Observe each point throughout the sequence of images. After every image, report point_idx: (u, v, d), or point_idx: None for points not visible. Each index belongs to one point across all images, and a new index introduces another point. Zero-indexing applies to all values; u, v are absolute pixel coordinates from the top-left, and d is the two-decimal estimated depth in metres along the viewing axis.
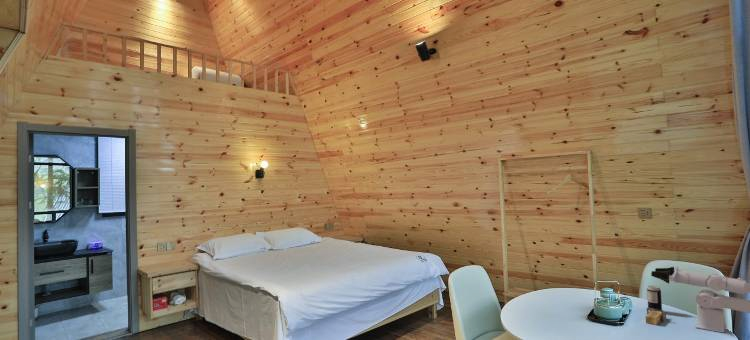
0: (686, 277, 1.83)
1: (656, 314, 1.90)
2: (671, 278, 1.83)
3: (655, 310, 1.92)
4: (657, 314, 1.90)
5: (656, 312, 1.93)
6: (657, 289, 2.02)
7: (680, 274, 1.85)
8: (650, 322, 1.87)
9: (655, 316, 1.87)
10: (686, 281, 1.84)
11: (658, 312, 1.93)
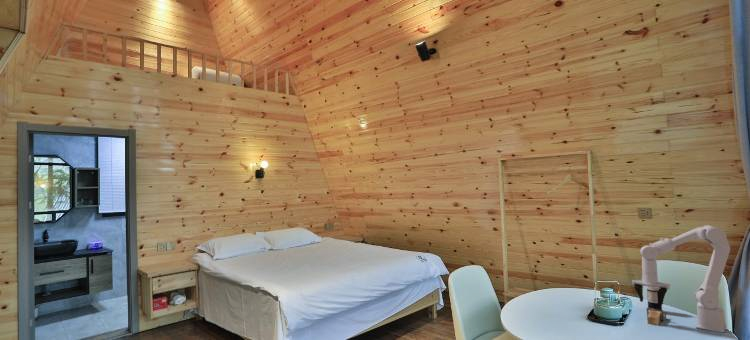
0: (656, 275, 1.87)
1: (657, 314, 1.90)
2: (669, 287, 1.84)
3: (655, 310, 1.92)
4: (657, 314, 1.90)
5: (655, 312, 1.94)
6: (657, 289, 2.02)
7: (656, 280, 1.86)
8: (652, 322, 1.86)
9: (656, 316, 1.87)
10: None
11: (657, 312, 1.94)
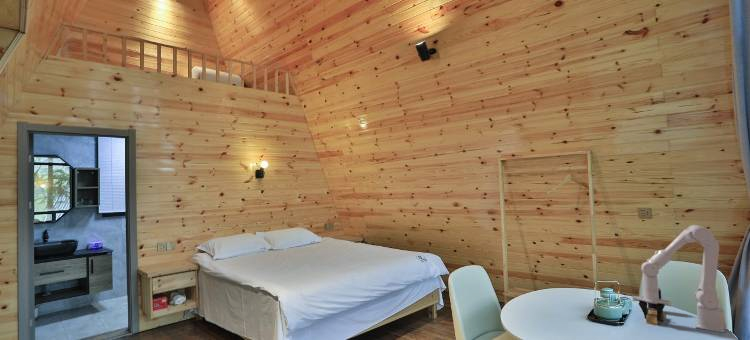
0: (657, 291, 1.86)
1: (656, 314, 1.90)
2: (670, 304, 1.83)
3: (655, 310, 1.92)
4: None
5: (655, 311, 1.94)
6: None
7: (657, 297, 1.86)
8: (651, 322, 1.87)
9: (655, 315, 1.88)
10: None
11: None
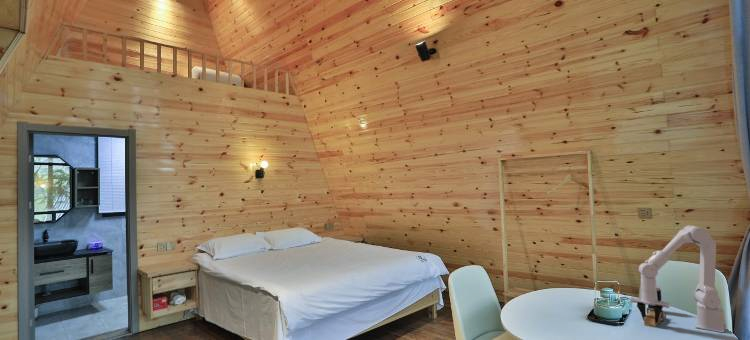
0: (655, 293, 1.84)
1: (654, 315, 1.87)
2: (669, 305, 1.81)
3: None
4: None
5: (654, 313, 1.91)
6: (657, 289, 2.02)
7: (655, 299, 1.84)
8: (648, 323, 1.84)
9: (653, 317, 1.85)
10: None
11: None
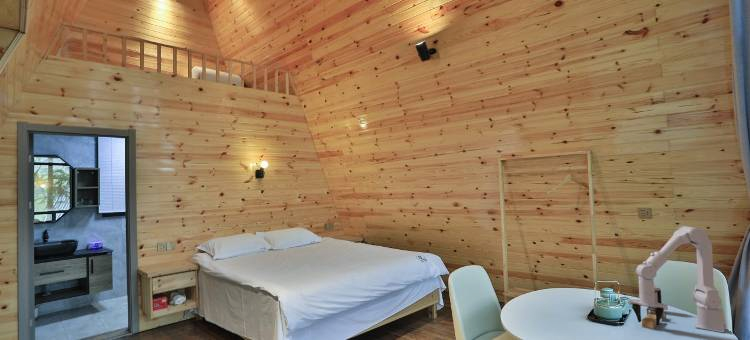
0: (653, 295, 1.82)
1: (653, 318, 1.85)
2: (667, 307, 1.78)
3: None
4: (654, 318, 1.85)
5: (652, 315, 1.89)
6: (657, 289, 2.02)
7: (653, 300, 1.81)
8: (646, 326, 1.82)
9: (651, 320, 1.83)
10: None
11: (655, 315, 1.89)
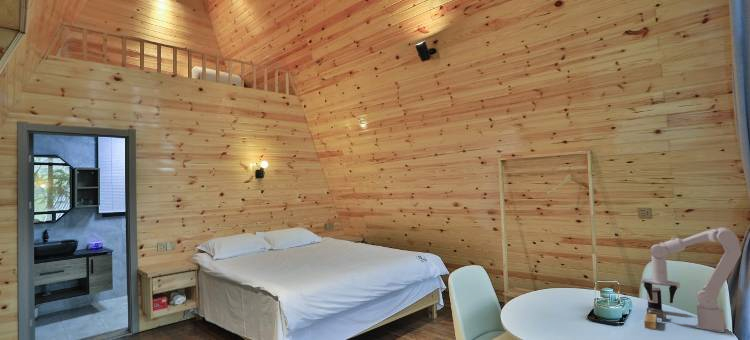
0: (666, 273, 1.88)
1: (653, 318, 1.85)
2: (679, 285, 1.85)
3: (655, 310, 1.92)
4: (654, 317, 1.86)
5: (650, 315, 1.89)
6: (657, 289, 2.02)
7: (666, 279, 1.87)
8: (649, 326, 1.81)
9: (653, 320, 1.83)
10: None
11: (653, 315, 1.89)
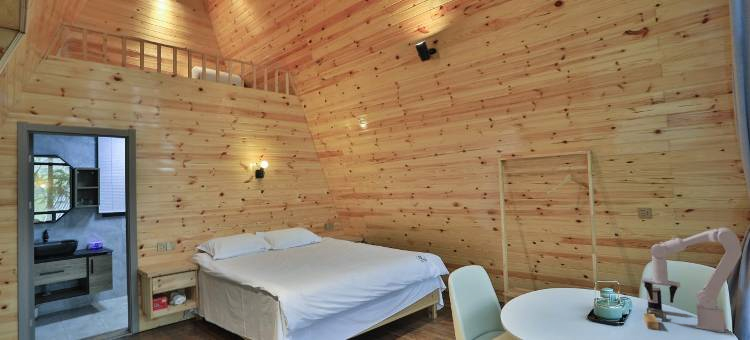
0: (666, 273, 1.88)
1: (653, 318, 1.85)
2: (679, 285, 1.85)
3: (655, 310, 1.92)
4: (653, 317, 1.86)
5: (649, 315, 1.89)
6: (657, 289, 2.02)
7: (666, 278, 1.87)
8: (652, 327, 1.81)
9: (655, 320, 1.82)
10: None
11: (651, 315, 1.90)
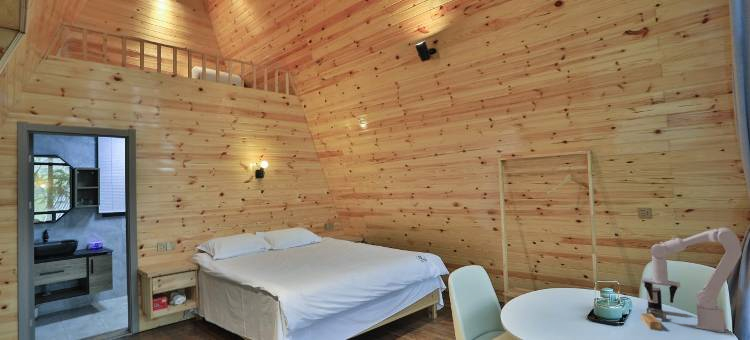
0: (666, 273, 1.88)
1: (654, 318, 1.85)
2: (679, 285, 1.85)
3: (655, 310, 1.92)
4: (653, 317, 1.86)
5: (648, 315, 1.89)
6: (657, 289, 2.02)
7: (666, 278, 1.87)
8: (654, 327, 1.80)
9: (656, 320, 1.82)
10: None
11: (649, 314, 1.90)
